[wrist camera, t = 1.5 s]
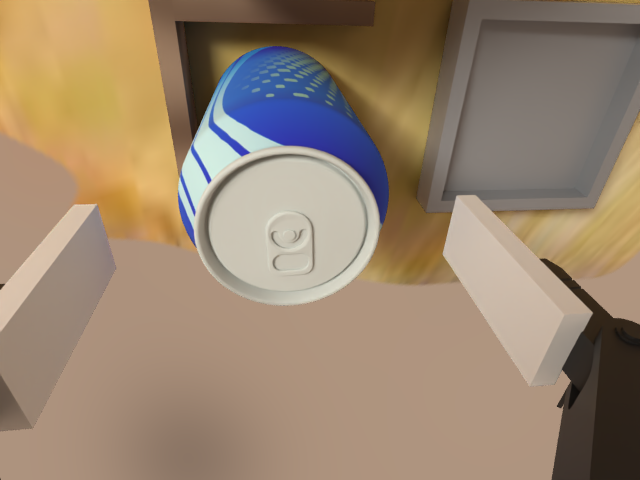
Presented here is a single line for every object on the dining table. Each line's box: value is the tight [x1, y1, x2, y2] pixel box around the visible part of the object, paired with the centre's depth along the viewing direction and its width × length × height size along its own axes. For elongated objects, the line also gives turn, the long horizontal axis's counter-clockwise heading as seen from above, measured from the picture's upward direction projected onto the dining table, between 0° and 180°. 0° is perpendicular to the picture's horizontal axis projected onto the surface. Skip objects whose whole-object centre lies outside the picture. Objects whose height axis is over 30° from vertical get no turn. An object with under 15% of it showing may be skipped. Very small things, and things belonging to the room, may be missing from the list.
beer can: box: [178, 46, 389, 306], centre depth 21 cm, size 8×8×16 cm
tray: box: [416, 0, 640, 213], centre depth 28 cm, size 14×14×2 cm
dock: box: [148, 0, 375, 179], centre depth 26 cm, size 13×12×2 cm
